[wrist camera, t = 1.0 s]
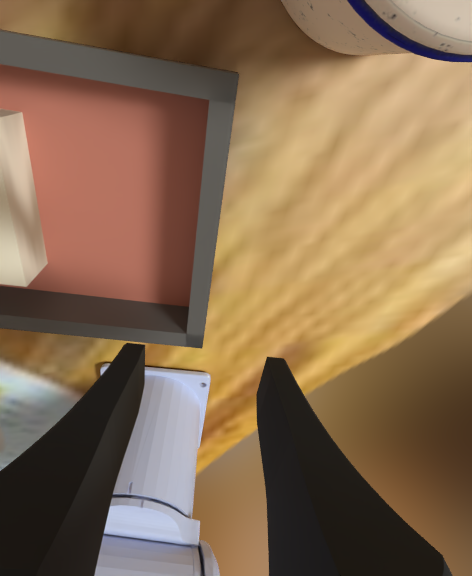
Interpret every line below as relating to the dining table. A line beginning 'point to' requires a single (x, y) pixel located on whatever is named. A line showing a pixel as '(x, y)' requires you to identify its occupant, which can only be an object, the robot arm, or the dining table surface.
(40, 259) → the slab
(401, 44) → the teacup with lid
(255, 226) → the dining table surface
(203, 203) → the grey and pink tray
